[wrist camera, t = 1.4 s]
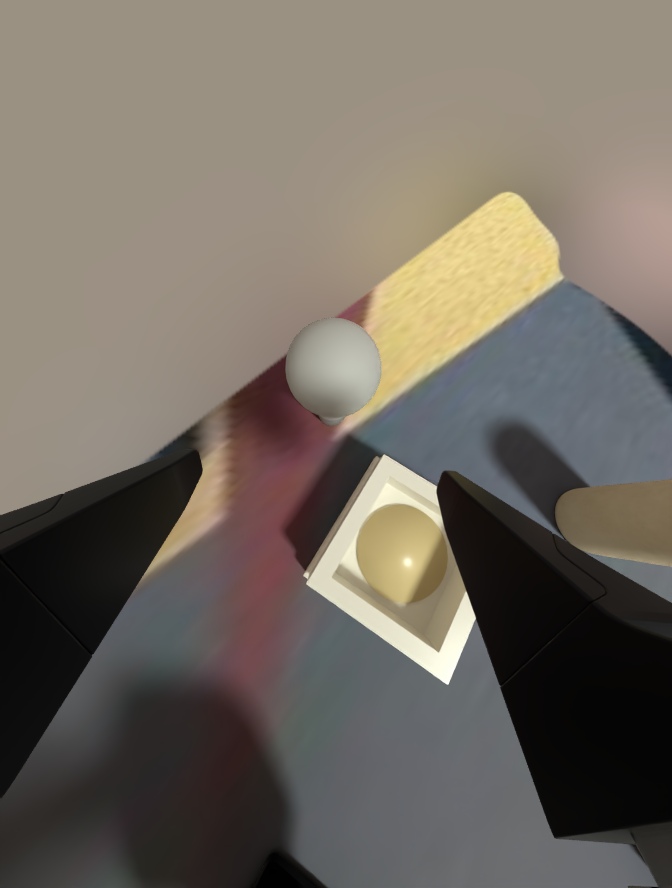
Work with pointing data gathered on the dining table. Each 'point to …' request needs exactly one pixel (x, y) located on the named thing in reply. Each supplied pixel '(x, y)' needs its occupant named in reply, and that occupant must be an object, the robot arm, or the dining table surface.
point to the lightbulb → (333, 368)
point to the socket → (397, 568)
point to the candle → (620, 520)
